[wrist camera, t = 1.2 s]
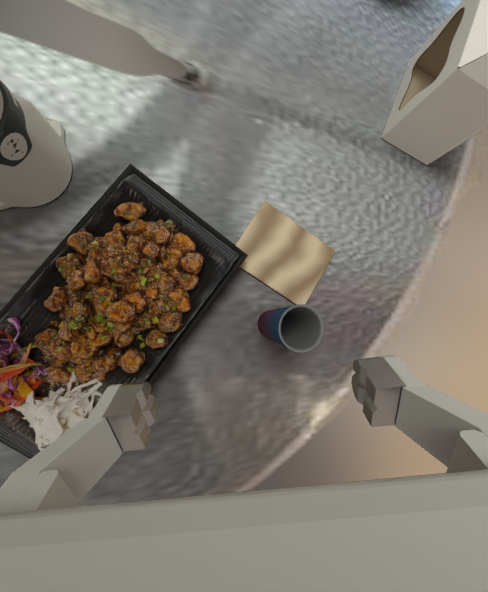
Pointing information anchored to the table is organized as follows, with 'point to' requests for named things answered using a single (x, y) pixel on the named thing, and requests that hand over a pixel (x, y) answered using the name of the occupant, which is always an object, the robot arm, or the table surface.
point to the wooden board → (283, 254)
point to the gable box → (444, 87)
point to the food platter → (106, 308)
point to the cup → (293, 327)
